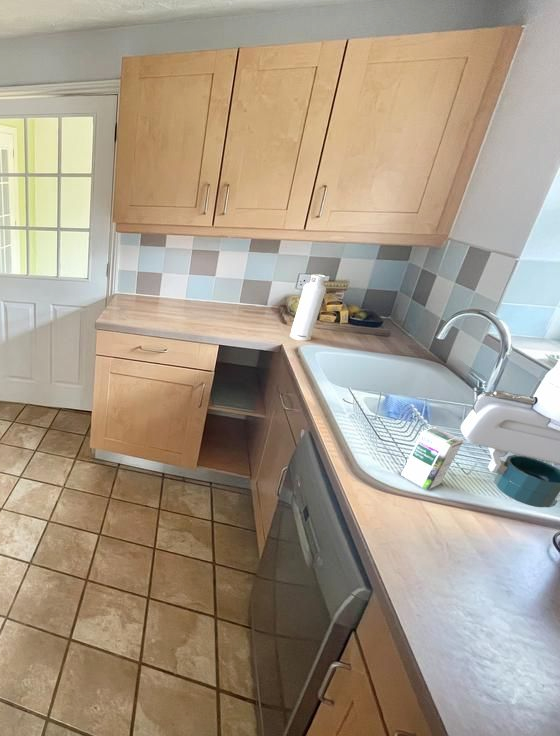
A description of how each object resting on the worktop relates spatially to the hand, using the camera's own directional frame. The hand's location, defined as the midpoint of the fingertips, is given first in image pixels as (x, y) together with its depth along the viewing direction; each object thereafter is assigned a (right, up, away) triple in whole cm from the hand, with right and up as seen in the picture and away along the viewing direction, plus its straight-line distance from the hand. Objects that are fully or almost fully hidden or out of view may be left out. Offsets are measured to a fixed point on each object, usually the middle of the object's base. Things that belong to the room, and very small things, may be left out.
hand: (530, 480), depth 65 cm
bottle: (+36, +27, +119) cm, 127 cm away
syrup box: (+13, -12, +34) cm, 38 cm away
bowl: (0, -2, +1) cm, 3 cm away
